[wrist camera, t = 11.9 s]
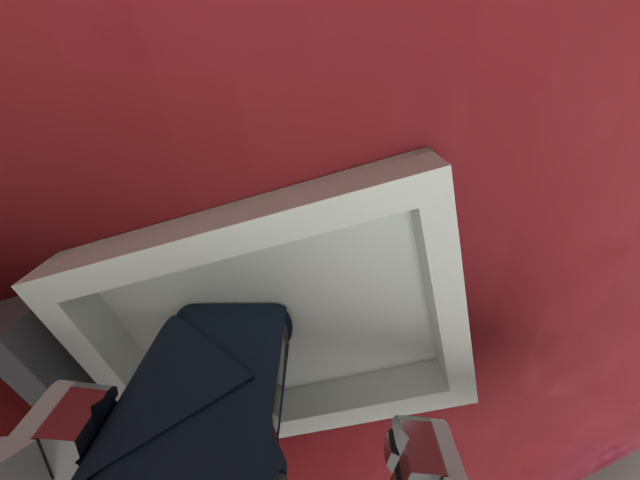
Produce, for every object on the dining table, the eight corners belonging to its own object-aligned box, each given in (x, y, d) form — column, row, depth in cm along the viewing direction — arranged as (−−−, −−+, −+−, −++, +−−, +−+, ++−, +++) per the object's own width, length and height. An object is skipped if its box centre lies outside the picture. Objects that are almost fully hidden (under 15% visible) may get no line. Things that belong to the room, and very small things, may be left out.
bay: (89, 506, 22) (56, 568, 19) (-119, 332, 15) (-216, 392, 12) (221, 484, 20) (206, 548, 18) (61, 284, 13) (-3, 338, 11)
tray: (181, 414, 17) (163, 459, 15) (57, 252, 13) (10, 286, 11) (458, 359, 15) (478, 402, 13) (427, 146, 11) (451, 165, 9)
